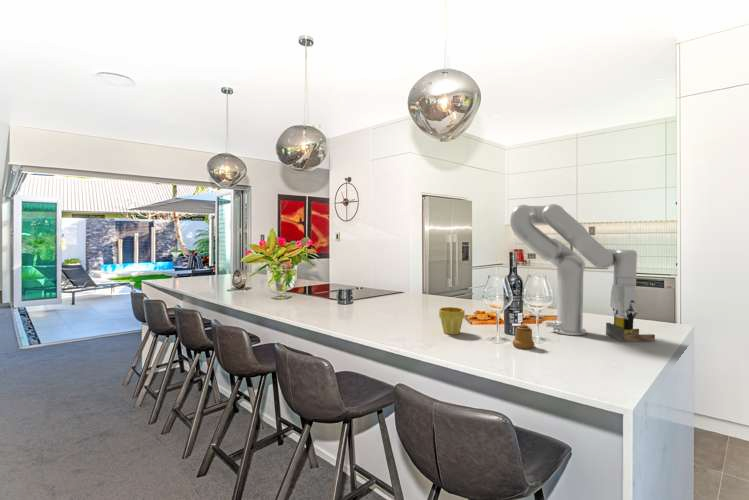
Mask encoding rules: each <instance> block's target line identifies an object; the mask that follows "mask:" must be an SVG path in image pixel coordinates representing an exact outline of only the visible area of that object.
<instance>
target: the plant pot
mask: <svg viewBox="0 0 749 500" xmlns="http://www.w3.org/2000/svg"><path fill="white" fill-rule="evenodd" d="M465 311H466V310H465V309H464V308H462V307H458V306H457V307H454V306H446V307H441V308H439V309H438V317H439V318H440V321H441V322H440V323H441V325H442V332H443V334H444V335H445V334H446V335H453V336H454V335H459V334H460V333H461V328H462V325H463V319H465V313H466V312H465Z"/></svg>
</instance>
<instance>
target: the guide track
mask: <svg viewBox="0 0 749 500" xmlns="http://www.w3.org/2000/svg"><path fill="white" fill-rule="evenodd" d="M605 336H607V337H609V338H612V339H613V340H615V341H618V342H622V343H623V342H626V343H627V342H629V343H630V341H645V342H655V341H656V335H655V334H652V333H649V334H646V333H645V334H640V329H639V328H633V329H632V334H631V335H624V328H622V327H619V326H617V325H614V323H611V322H605Z"/></svg>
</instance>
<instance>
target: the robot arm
mask: <svg viewBox="0 0 749 500" xmlns="http://www.w3.org/2000/svg"><path fill="white" fill-rule="evenodd" d="M509 221H510V222H509V224H510V227H511V228H510V229H511V230H512V232H513V234H514V235H515V236H516V238H518V239H519V240H520V241H521V242H522V243H523V244H524V245H525V246H526V247H528V248H529V249H530V250H531V251H532V252H534V253H535V254H536V255H537V256H539V257H540V258H541V259H542V260H544V261H545V262H550V263H551V264H553V265H554V266H555V267H556V269H557V271H556V273H557V303H556V304H557V305H556V309H557V312H556V313H557V314H556V317H557V318H556V319H554V321H552V322H551V321H545V323H544V324H545V325H544V326H545V327H546V328H548V327H549V328H550V327H551V328H552V331H553V332H554V333H556V334H561V335H564V336H567V335H568V336H584V335H587V334H588V333H587V331H588V330H587V329H585V328H583V322H584V321H583V320H584V319H583V318H584V315H583V314H584V271H585V269H586V263H585V260H584V259H583V258H585V259H586V260H587V261H588V262H589V263H590V264H592V266H594V267H596V268H597V269H608V268H609V267H613V280H612V282H613V283H612V286H611V292H610V301H609V303H610V304H609V305H610V307H611V309H612V311H613V316H614V317H613V324H614V325H615V315H616V314H618V310H619V311H622V312H624V313H625V318H626V319H624V329H625V330H632V329H634V320H635V317H636V316H637V315H638V313H639V311H638V309H637V307H638V296H637V295H638V294H637V287H636V286H637V265H638V264H637V263H638V262H637V261H638V254H637V251H636V250H633V249H611V248H606V247H604V245H602V244H601V243H599V242H598V241H597V239H596V238H595V237H593V236H592V235H591V234H590V233H589V231H588V230H587V229H586V228H585V226H583V225H582V224H581V223H580V222H579V221H578V220H576V219H575V218H574V217H573V216H572V215H571V214H569V213H568V212H567V211H566V210H565V209H564V208H563V207H562V206H561V205H559V204H556V203H550V204H548V205H528V204H519V205H517V206H515V207H514V209H513V210H512V212H511V214H510V220H509ZM536 225H537V226H538V225H539V226H540V225H541V226H544V225H545V226H546V225H548V226H549V227H550V228H552V229H553V230H554V231H555V232H556V233H558V235H559V236H560V237H561V238H563V239H564V240H565V241H566V242H567V243H568V244H569V245H570V246H572V248H574V249H575V250H576V251H577V252H578V253H580V255H581V256H580V255H578V254H577V253H576V252H574V251H573V250H572V249H571V248H570V247H568V246H567V245H566V244H564V243H563V242H562V241H560V240H558V239H556V238H551V237H550V236H548V235H547V234H546V233H544V232H543V231H542V230H541V229H539V228H538V227H537V226H536ZM582 256H583V258H582ZM628 310H629V311H628ZM628 313H630V314H629V315H628Z"/></svg>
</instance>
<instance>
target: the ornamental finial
mask: <svg viewBox="0 0 749 500" xmlns="http://www.w3.org/2000/svg"><path fill="white" fill-rule="evenodd" d="M512 345H513V347H514V348H516V349H519V350H531V349H533V348H535V342H534V340H533V329H532V328H531V327H530V326H528V325H527V324H525V323H524V324H519V326H517V327H515V329H514V338H513V340H512Z"/></svg>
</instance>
